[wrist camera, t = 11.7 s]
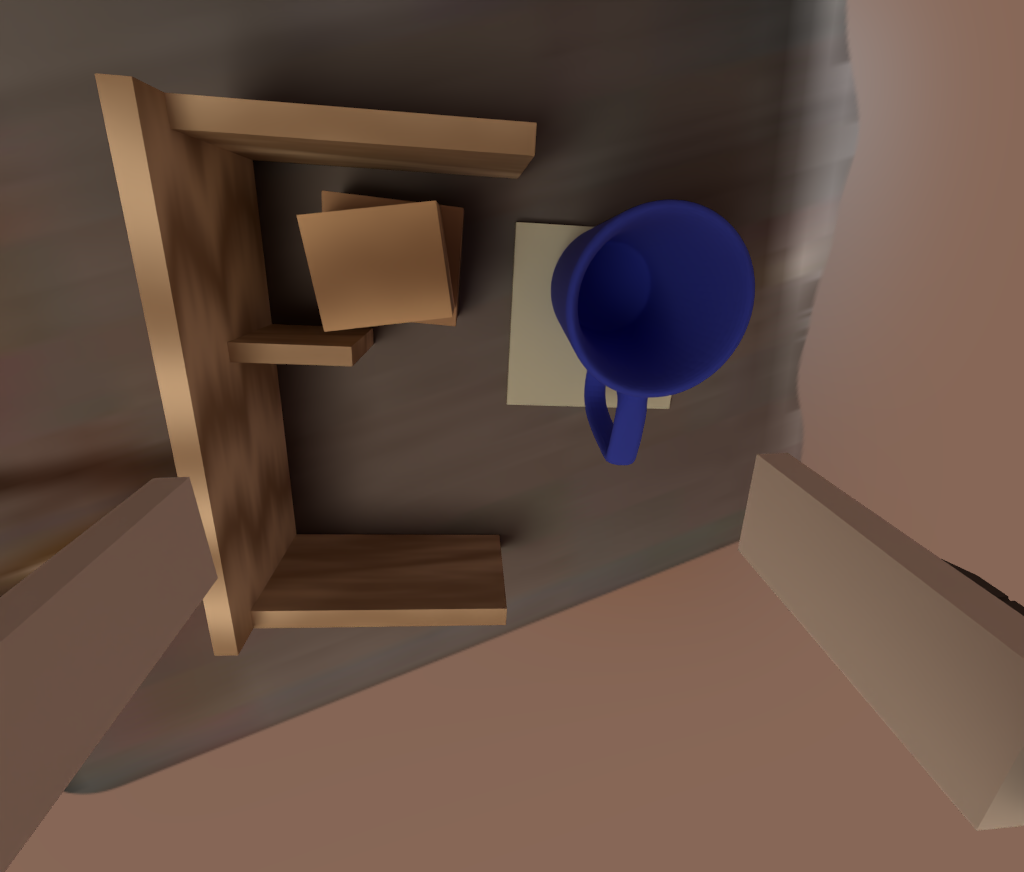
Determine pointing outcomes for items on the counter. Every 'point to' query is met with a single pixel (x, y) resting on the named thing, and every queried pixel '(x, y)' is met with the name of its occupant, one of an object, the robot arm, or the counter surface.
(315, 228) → the offcut oak
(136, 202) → the rack
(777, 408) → the counter surface
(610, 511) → the counter surface
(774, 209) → the counter surface
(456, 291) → the offcut walnut
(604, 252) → the mug
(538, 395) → the sage tile
